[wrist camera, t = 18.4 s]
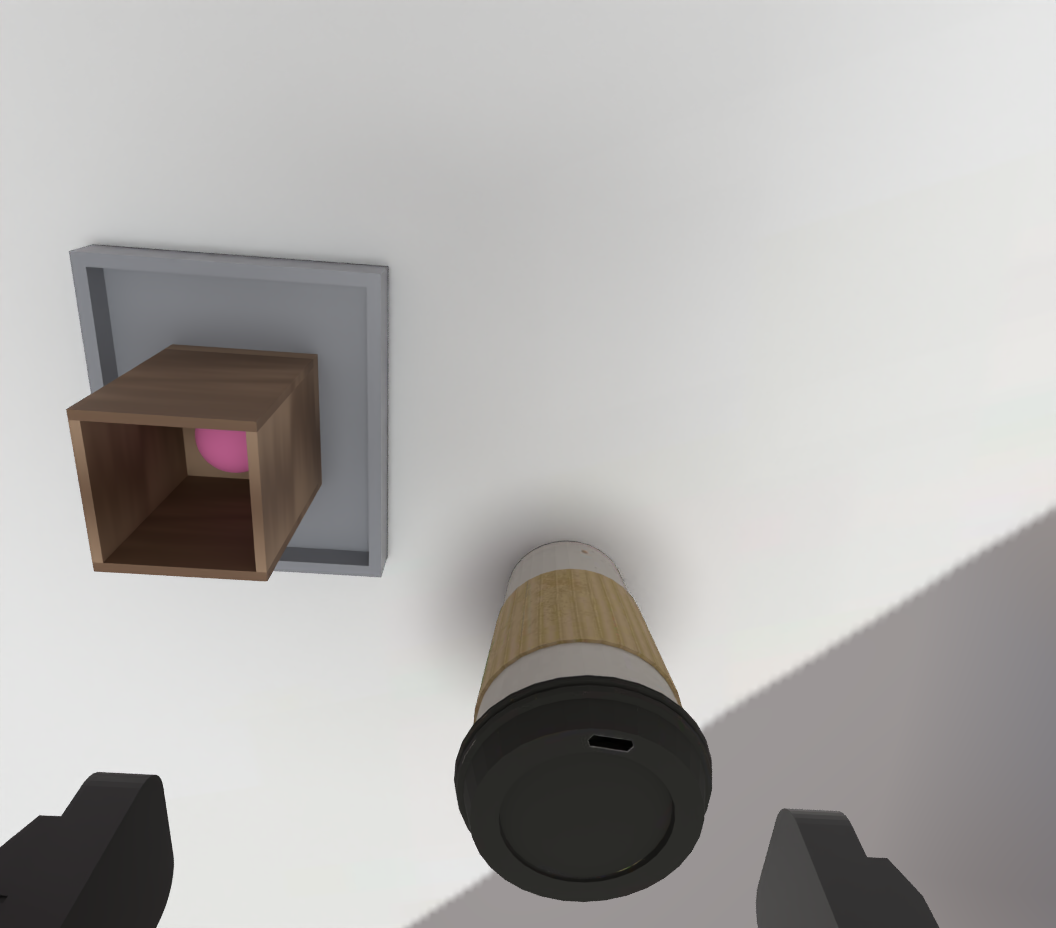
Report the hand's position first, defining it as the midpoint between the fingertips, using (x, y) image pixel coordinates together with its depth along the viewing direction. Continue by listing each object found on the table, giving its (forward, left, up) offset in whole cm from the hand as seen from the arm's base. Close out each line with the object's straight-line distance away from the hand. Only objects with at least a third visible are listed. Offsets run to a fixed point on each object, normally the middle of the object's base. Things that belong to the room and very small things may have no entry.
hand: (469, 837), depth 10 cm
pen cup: (+5, -12, -28) cm, 30 cm away
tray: (+5, -12, -28) cm, 31 cm away
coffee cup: (+14, +4, -28) cm, 32 cm away
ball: (+5, -12, -25) cm, 28 cm away
